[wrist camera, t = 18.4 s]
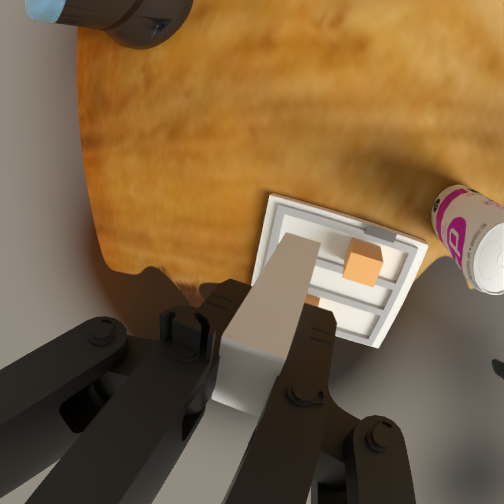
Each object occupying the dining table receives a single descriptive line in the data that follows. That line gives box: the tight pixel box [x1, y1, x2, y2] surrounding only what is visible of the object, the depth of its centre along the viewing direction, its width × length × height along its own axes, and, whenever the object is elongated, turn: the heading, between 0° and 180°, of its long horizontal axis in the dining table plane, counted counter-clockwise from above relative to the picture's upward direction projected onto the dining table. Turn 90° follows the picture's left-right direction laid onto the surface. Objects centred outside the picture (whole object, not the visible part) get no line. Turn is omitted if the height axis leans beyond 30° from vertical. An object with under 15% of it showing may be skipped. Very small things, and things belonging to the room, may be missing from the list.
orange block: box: [342, 238, 384, 287], centre depth 34 cm, size 4×3×5 cm
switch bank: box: [251, 193, 429, 348], centre depth 39 cm, size 22×18×2 cm
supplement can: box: [431, 185, 504, 295], centre depth 24 cm, size 8×8×15 cm
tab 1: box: [304, 294, 320, 307], centre depth 40 cm, size 4×3×5 cm
